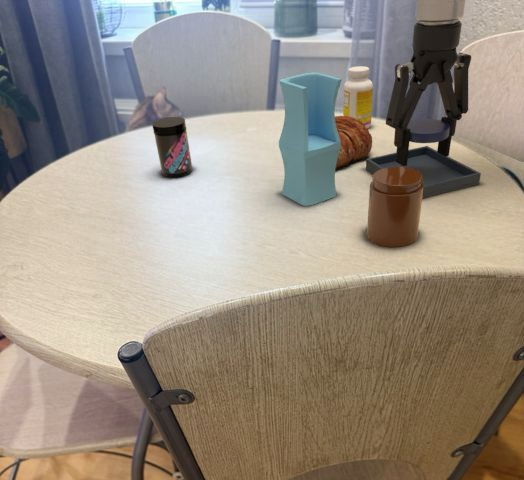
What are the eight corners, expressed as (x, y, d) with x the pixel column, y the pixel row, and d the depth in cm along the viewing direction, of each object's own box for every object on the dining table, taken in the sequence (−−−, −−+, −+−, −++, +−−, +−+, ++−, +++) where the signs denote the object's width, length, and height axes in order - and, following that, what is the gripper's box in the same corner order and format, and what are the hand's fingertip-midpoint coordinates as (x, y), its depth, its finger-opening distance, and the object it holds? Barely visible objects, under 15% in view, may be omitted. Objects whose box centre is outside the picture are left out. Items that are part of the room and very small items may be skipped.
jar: (427, 239, 84) (435, 179, 78) (382, 251, 83) (387, 190, 76) (400, 219, 90) (405, 162, 84) (358, 230, 88) (360, 172, 82)
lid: (392, 133, 101) (392, 123, 100) (431, 125, 103) (432, 115, 102) (417, 146, 95) (418, 136, 94) (458, 137, 96) (459, 127, 95)
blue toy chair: (305, 207, 97) (302, 88, 84) (281, 193, 102) (275, 80, 89) (339, 195, 100) (342, 78, 87) (314, 182, 105) (313, 71, 92)
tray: (479, 184, 99) (481, 173, 97) (412, 200, 96) (413, 189, 94) (425, 155, 111) (427, 145, 110) (365, 169, 108) (366, 159, 107)
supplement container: (158, 179, 112) (148, 128, 106) (165, 167, 118) (155, 117, 111) (190, 177, 112) (182, 126, 105) (195, 165, 117) (187, 115, 110)
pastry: (390, 163, 110) (393, 123, 105) (319, 175, 108) (319, 135, 102) (359, 138, 122) (361, 101, 117) (295, 148, 120) (294, 111, 115)
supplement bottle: (375, 124, 129) (378, 65, 121) (363, 132, 125) (366, 72, 117) (350, 121, 132) (351, 64, 124) (338, 129, 128) (339, 71, 120)
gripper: (477, 9, 92) (457, 142, 106) (369, 27, 87) (363, 163, 102) (507, 14, 87) (482, 153, 101) (393, 33, 82) (383, 176, 96)
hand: (422, 158), depth 101 cm, fingers closed on lid, 8 cm apart
